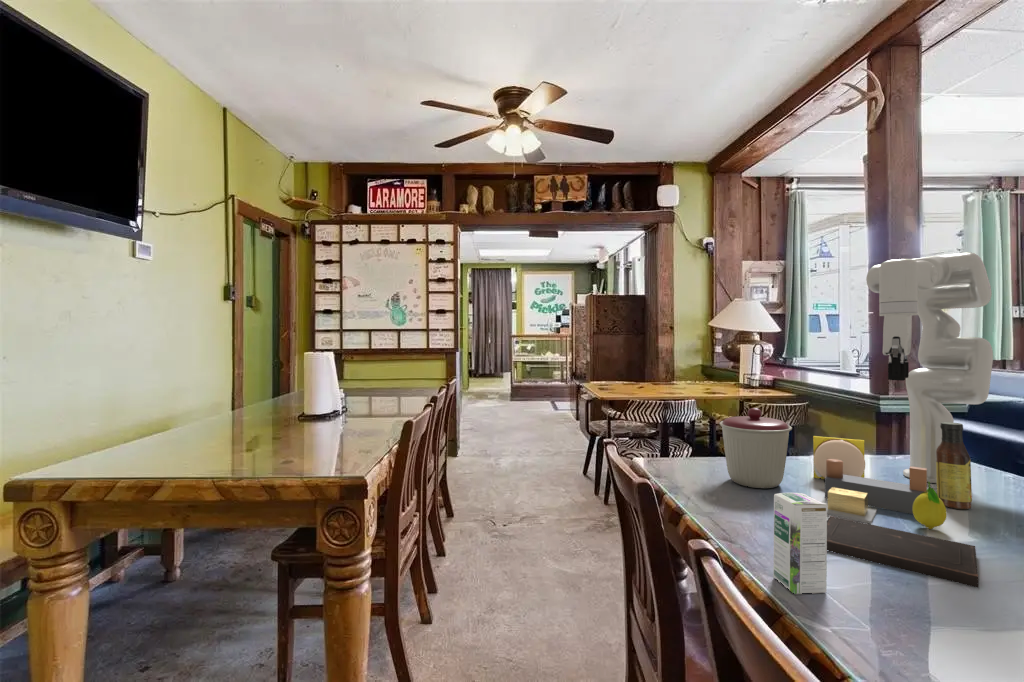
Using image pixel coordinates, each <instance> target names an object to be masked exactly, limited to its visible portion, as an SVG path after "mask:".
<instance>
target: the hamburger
mask: <svg viewBox="0 0 1024 682" xmlns="http://www.w3.org/2000/svg"><path fill="white" fill-rule="evenodd" d="M812 438H813V441H812V442H813V444H812V447H813V451H812V452H813V453H812V454H813V459H812V460H813V461H812V463H813V478H814V479H819V478H821V479H820V480H825V478H826V477H827V476H826V460H827V459H836V460H841V461H843V474H844V475H850V476H857V477H863V478H866V476H865V470H866V460H865V440H864V439H851V438H843V437H842V438H841V437H833V436H832V437H828V436H818V435H813V437H812Z"/></svg>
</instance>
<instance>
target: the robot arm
mask: <svg viewBox="0 0 1024 682" xmlns="http://www.w3.org/2000/svg"><path fill="white" fill-rule="evenodd" d="M865 281H866V285H867V287H868V289H869V290H870V291H871V292H873V293H875V294H878V295H879V297H878V298H879V301H878V303H879V313H878V314H879V315H878V316H879V317H883V327H882V328H883V331H882V333H883V334H882V354H883V356H888V355H889V357H888V363H887V379H888V380H889V381H902V382H903V381H905V388H906V392H907V393H906V394H907V397H908V405H909V467H910V466H912V467H919V468H926V469H927V483H928V482H930V484H931V483H932V484H937V479H936V461H937V459H936V450H937V448H938V446H939V445H940V444H941V442H942V439H941V438H942V429H941V427H940V425H941V423H942V422H953V423H955V421H954V417H953V415H952V413H951V412H950V411H949V410H948V409H947V408H946V407H945V406H944V404H942V403H945V404H948V403H950V404H961V405H981V404H983V403H984V402H986V400H987V399H988V397H989V393H990V388H991V378H992V370H993V363H994V361H993V359H994V352H993V351H994V350H993V347H992V344H991V343H990V341H989V340H987V339H986V338H983V337H980V336H979V337H978V336H960V334H961V325H960V323H959V322H958V321H957V320H956V319H955V318H954V317H952V316H951V315H950V314H948V313H947V312H945V311H943V310H950V309H954V310H955V309H973V308H974V309H975V308H982V307H986V305H988V304H989V303H990V302H991V299H992V294H993V293H992V286H991V283H990V279H989V277H988V272H987V269H986V266H985V263H984V261H983V260H982V258H981V257H980V256H979V255H978V254H977V253H974V252H971V251H970V252H959V253H951V254H941V255H932V256H925V257H918V258H901V259H900V258H899V259H890V260H886V261H883V262H881V263H880V264H875V265H873V266H872V267H870V268H869V270H868V271H867V274H866V279H865ZM913 316H918V317H919V320H920V322H921V324H922V330H921V336H920V339H919V340H920V342H919V347H918V352H917V359H918V363H919V364H920V365H921V366H922V367H921V368H916V369H912V370H910V371H909V361H908V360H909V358H908V355H910V354H911V348H912V336H913V335H912V334H913V333H912V331H913V330H912V329H913V327H912V326H913V324H912V321H913V320H912V319H913ZM902 472H903V475H904V476H905V477H906V478H909V468H905V469H903V471H902Z"/></svg>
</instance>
